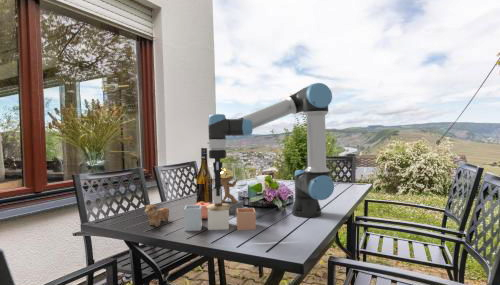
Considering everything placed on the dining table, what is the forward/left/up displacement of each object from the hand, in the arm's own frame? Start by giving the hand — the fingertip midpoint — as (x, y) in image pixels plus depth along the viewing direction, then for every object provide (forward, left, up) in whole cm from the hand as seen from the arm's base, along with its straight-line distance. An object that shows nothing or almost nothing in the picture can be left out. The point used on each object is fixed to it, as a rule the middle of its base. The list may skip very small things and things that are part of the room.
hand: (218, 202), depth 134 cm
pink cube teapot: (+8, -18, -12) cm, 23 cm away
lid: (0, 0, -3) cm, 3 cm away
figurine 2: (-5, -26, -12) cm, 29 cm away
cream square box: (0, 0, -12) cm, 12 cm away
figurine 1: (+29, -11, -12) cm, 33 cm away
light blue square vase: (+11, +1, -12) cm, 16 cm away
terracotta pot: (-12, +2, -12) cm, 17 cm away
